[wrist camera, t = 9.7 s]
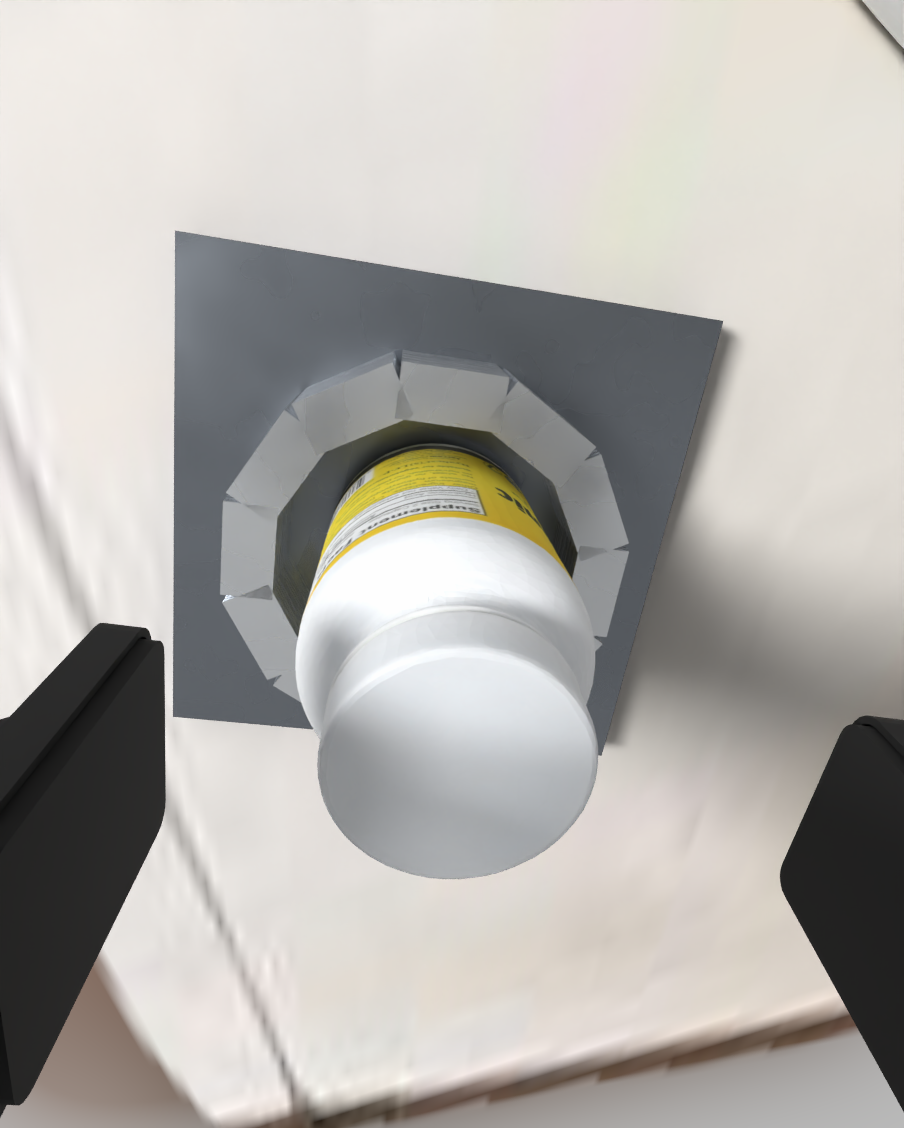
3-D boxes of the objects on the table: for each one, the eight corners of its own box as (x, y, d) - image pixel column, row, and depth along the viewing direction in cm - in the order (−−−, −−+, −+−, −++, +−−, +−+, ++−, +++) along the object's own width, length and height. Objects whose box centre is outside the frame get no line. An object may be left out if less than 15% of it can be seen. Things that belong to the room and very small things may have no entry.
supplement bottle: (546, 605, 20) (663, 883, 11) (359, 643, 20) (318, 949, 11) (516, 416, 18) (628, 564, 9) (307, 461, 18) (203, 651, 9)
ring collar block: (707, 318, 18) (771, 328, 15) (593, 736, 23) (624, 812, 20) (188, 233, 17) (134, 222, 13) (183, 697, 21) (143, 772, 18)
